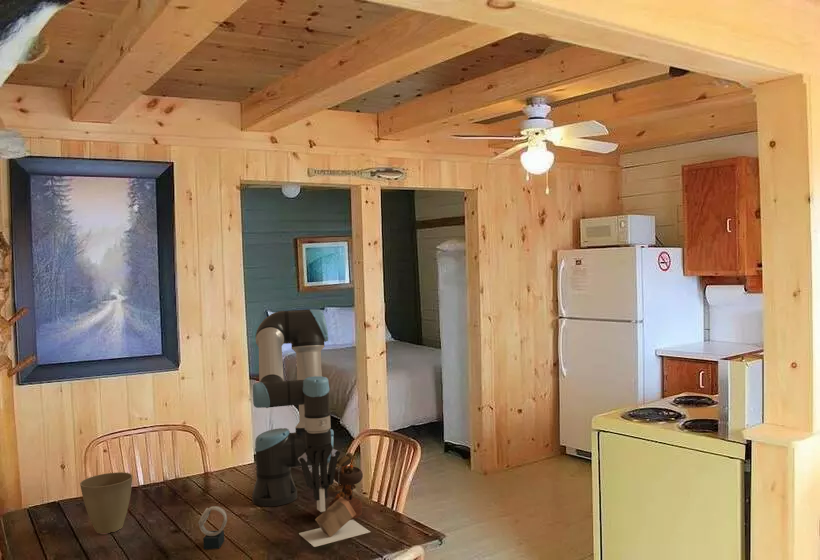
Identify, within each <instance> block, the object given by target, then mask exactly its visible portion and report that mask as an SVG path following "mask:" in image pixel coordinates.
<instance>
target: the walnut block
mask: <svg viewBox="0 0 820 560" xmlns="http://www.w3.org/2000/svg"><path fill="white" fill-rule="evenodd" d="M355 515H356V513H355V511H354V509H353V508H352V506H351V505H350V503H349V501H347V500H346V499H344V498H342V497H340V498H339V499H338V500H337V501H336V502H334V503H333V504H332V505H331V506H330V507H327V508H325V511H323V512H321V513H320V514H319V515H318V516H317V517H316V518H315V519H314V520H315V522H316V523H317V525H318V526H319V528H321V529H322V531H323V532H324V533H325V534H327V535H328V536H329V537H331V536H332V535H333V534H335V533H336V532H337V531H338V530H339V529H340V528H341V527H342V526H344V525H345V524H346V523H347V522H348V521H349V520H350V519H351V518H353V517H354V516H355ZM351 520H352V519H351Z"/></svg>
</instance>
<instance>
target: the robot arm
mask: <svg viewBox="0 0 820 560" xmlns="http://www.w3.org/2000/svg"><path fill="white" fill-rule="evenodd" d="M328 332H329V331H328V325H327V321H326V317H325V314H324V312H323V311H322V310H321V309H313V308H312V309H295V310H294V309H293V310H278V311H276V312H273V313H271V314H270V315H268V316H267V317H266V318H264V319H263V321H261V322H260V324H259V326H258V327H257V330H256V332H255V343H256V346H257V348H258V376H259V377H258V379H259V380H258V381H259V382H256V383H253V384H252V401H253V402H252V403H253V407H255V408H258V409H260V408H261V409H264V408H266V409H270V408H278V407H287V406H288V407H289V406H290V407H291V406H298V417H299V421H298V423H297V424H296V426H295V427H294V428H295V432H290V429H289V428H286V427H285V428H282V427H279V428H273V429H270V430H267V431H264V432H262V433H259V434H258V435H257V436H256V438H255V440H254V441H255V447H254V451H255V465H256V467H255V471H256V472H255V473H256V481H255V483H254V487H253V490H252V494H251V495H252V496H251V498H252V501H251V503H253V504H254V505H256V506H259V507H276V506H277V507H278V506H283V505H286V504H290V503H292V502H294V501H296V499H298V490H297V487H296V484H295V481H294V479H293V477H292V468H298V467H299V468H300V467H301V470H302V473H303V477H304V481H305V484H306V486H307V487H308V488H309V489H311V490H313V499H314V501H316V510H317V511H319V512H320V513H323V512H324V511H325V510H326V499H327V498H328V490H329V487H330V486H331V485H334V481H335V480H334V476H335V470H336V469H337V467H336V464H337V461H338V460H339V457H340V455H341V452H340V450H337V449H335V448H334V439H335V438H334V437H335V436H334V434H335V433H334V430H333V429H331V428H332V427H331V424H332V423H331V412H330V411H331V409H330V408H331V405H330V403H331V402H330V390H331V389H330V383H329V382H330V381H329V378H328V377H326V376H323V373H322V372H323V371H322V354H321V352H322V350H323V349H324V348H325V343H326V342H328V341H329V333H328ZM284 344H287V345H288V344H290V345H291V349H292V350H293V351H294V352H295V354H296V355H295V356H296V375H297V377H296V379H297V380H296V379H294V380H285V378H284V365H283V363H284V361H283V360H284V359H283V350H282V349H283V348H282V346H283V345H284ZM309 466H311V472H310V467H309Z"/></svg>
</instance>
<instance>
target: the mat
mask: <svg viewBox="0 0 820 560" xmlns="http://www.w3.org/2000/svg"><path fill="white" fill-rule="evenodd" d="M369 533H371V531H370V530H368V529H367V528H366V527H365V526H363V525H362V524H360V523H358V522H357V521H356V520H355V519H351V520H349V521H348V522H347V523H346V524H345V525H344V526H342V527H341V528H340V529H339V530H338V531H337V532H336V533H335V534H333V535H332V536H331V537H329V536H328V535H327V534H325V533H324V532H323V531H322V529H321V528H320V527H319V528H315V529H310V530H306V531H302V532H299V533H298V534H299V536H300V537H302V538H303V539H304V540H305V541H306V542H308V543H309V544H311V546H312V547H314V548H316V547H319V546H320V547H321V546H324V545H327V544H330V543H332V544H333V543H334V542H340V541H343V540H347V539H350V538H353V537H357V536H362V535H364V534H369Z"/></svg>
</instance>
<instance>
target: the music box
mask: <svg viewBox="0 0 820 560" xmlns="http://www.w3.org/2000/svg"><path fill="white" fill-rule="evenodd" d="M353 459H354V454H353V453H351V452H348V453H346V455H344V456H342V457H340V458H338V459H337V464H336V470H335V476H334V481H335V483H337V485H335V487H334V488H335V490H334V491H337V494H336V496H335V497H334V499H332V500H331V501H330V502H329V504H328V505H329V507H330V506H331V505H332V504H333V503H334V502H336V501H337V500H338V499H339V498H340V497H342V498H344V499H346V500H347V501H349V503H350V505H351V506H352V508H353V509H354V511H355V513H356V515H355V516H354V517H353V518H351V519H350V520H355V519H357V518H360V517H361V516H362V514H363V503H362V501H360V499H358V498H355V497H353V491H354V489H356V488H357V486H356V485H357V484H359V483H360V482H361V481H362V479H363V477H364V476H363V470H361V468H359V467H356V466H353V464H351V463H352V462H353ZM340 490H341V491H340ZM339 491H340V492H339ZM329 507H328V508H329Z"/></svg>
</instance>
